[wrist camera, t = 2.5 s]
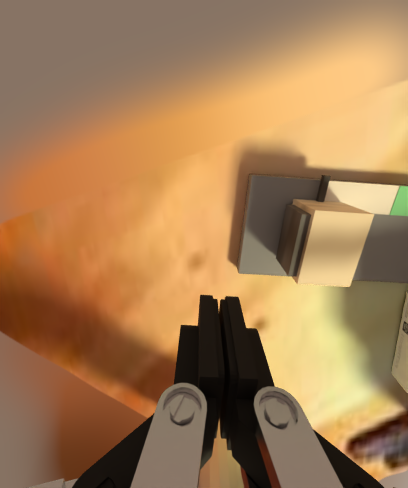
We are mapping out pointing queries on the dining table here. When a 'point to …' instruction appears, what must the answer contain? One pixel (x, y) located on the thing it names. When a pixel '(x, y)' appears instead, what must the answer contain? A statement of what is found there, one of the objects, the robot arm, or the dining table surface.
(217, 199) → the dining table surface
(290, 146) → the dining table surface
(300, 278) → the block
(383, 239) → the base
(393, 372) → the tea box
